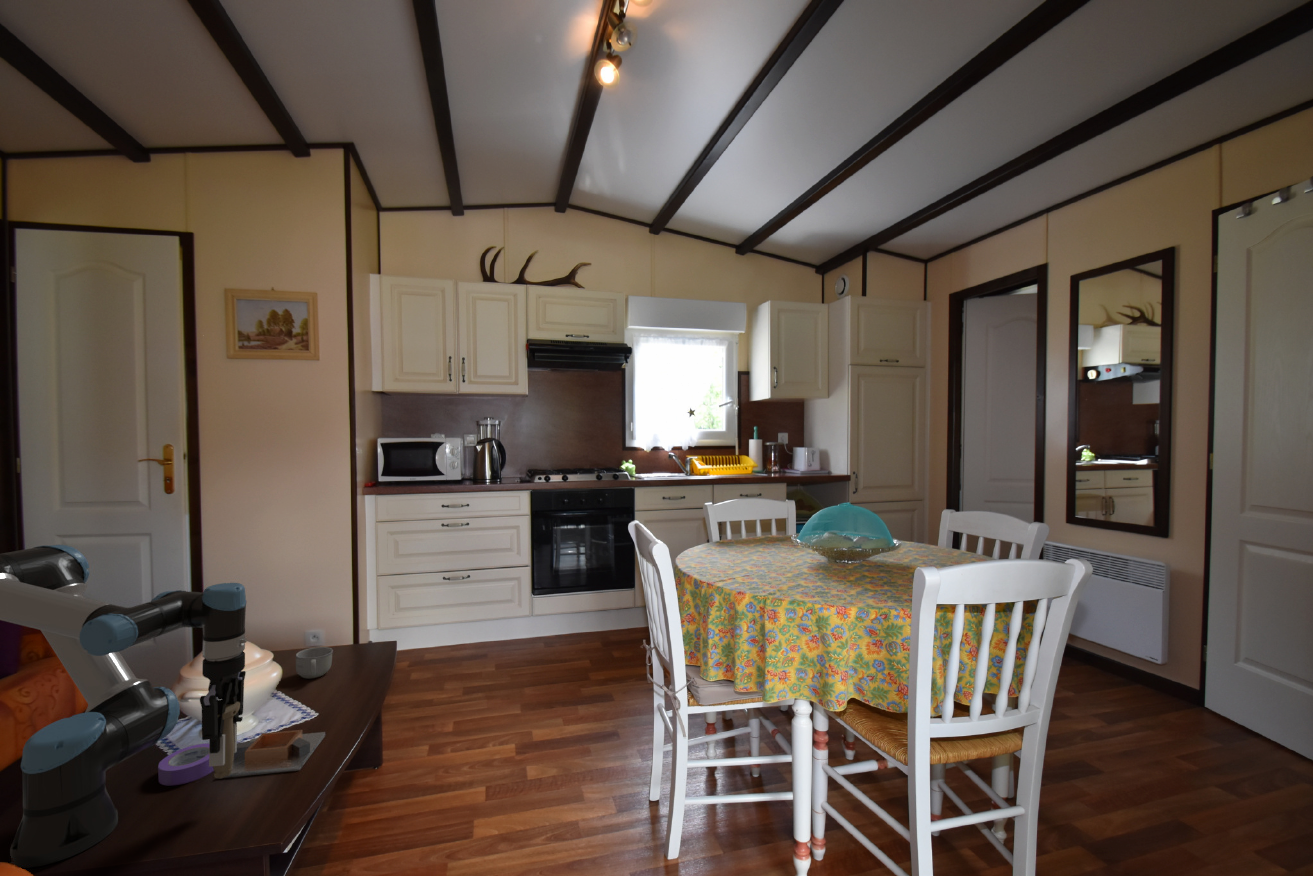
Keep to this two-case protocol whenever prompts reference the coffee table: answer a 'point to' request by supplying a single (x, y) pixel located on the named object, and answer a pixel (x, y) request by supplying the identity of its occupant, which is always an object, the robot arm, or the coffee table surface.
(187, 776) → the masking tape
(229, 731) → the handle
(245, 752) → the coupling base
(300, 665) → the teacup
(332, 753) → the coffee table surface
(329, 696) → the coffee table surface
